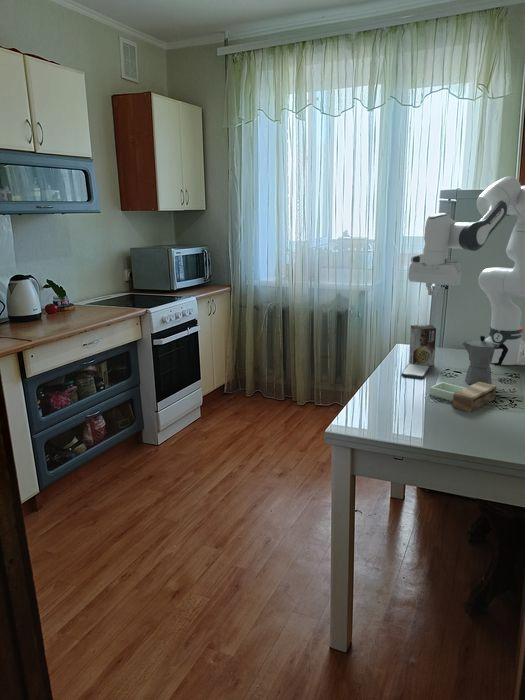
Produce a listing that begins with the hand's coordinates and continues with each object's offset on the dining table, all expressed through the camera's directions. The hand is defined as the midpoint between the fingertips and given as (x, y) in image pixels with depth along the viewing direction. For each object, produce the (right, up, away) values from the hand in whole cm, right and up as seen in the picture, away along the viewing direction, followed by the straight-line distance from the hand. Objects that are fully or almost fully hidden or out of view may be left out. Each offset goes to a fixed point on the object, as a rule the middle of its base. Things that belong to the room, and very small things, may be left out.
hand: (432, 295), depth 193 cm
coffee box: (+2, -27, +21) cm, 34 cm away
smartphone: (-3, -30, +10) cm, 32 cm away
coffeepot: (+17, -33, -4) cm, 37 cm away
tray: (+2, -37, -19) cm, 42 cm away
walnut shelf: (+6, -38, -23) cm, 45 cm away
